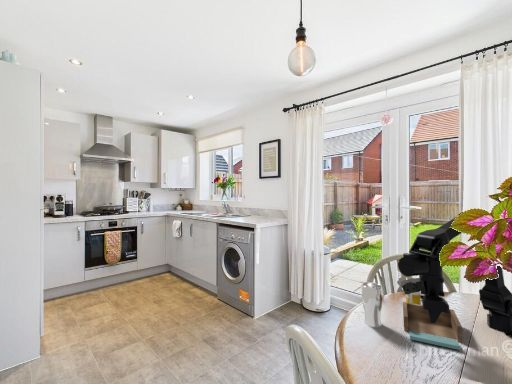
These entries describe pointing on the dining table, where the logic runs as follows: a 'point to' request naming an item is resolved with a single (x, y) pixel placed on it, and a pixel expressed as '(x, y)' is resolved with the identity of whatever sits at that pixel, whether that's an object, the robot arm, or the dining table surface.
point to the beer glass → (372, 303)
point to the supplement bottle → (413, 298)
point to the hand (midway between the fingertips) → (432, 322)
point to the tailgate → (434, 340)
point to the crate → (420, 322)
